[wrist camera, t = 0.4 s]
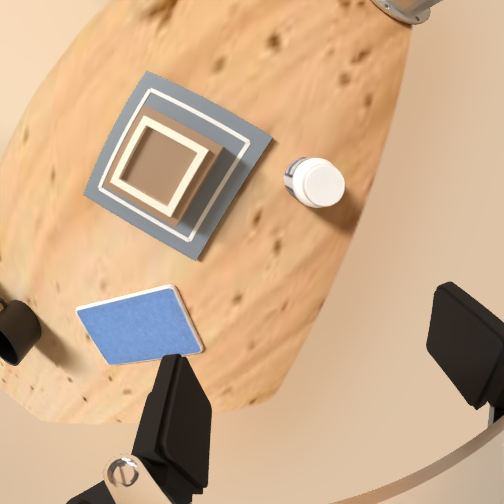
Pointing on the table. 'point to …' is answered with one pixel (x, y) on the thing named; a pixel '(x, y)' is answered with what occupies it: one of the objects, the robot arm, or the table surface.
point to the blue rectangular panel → (141, 326)
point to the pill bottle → (314, 182)
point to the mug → (17, 331)
